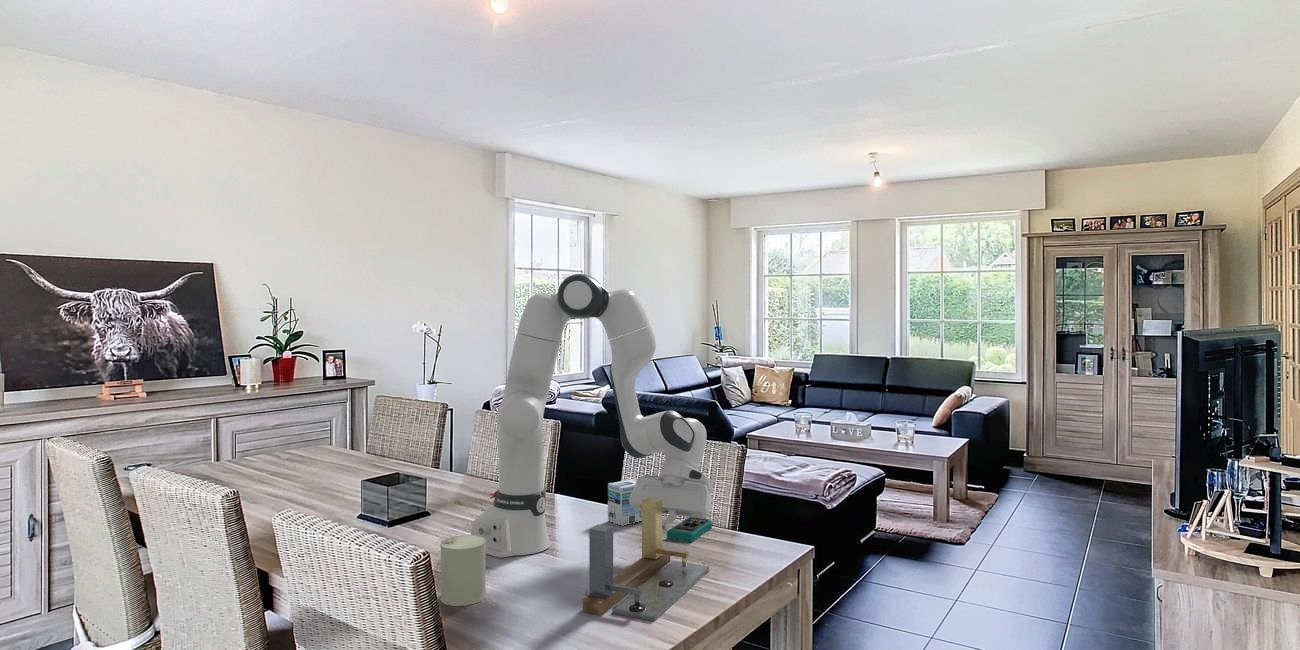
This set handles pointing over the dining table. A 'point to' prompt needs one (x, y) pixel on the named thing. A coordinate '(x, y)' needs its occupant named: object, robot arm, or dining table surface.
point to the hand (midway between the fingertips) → (660, 528)
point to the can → (463, 570)
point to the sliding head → (655, 532)
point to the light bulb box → (622, 503)
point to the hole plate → (661, 591)
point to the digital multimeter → (689, 529)
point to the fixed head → (604, 566)
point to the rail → (626, 583)
